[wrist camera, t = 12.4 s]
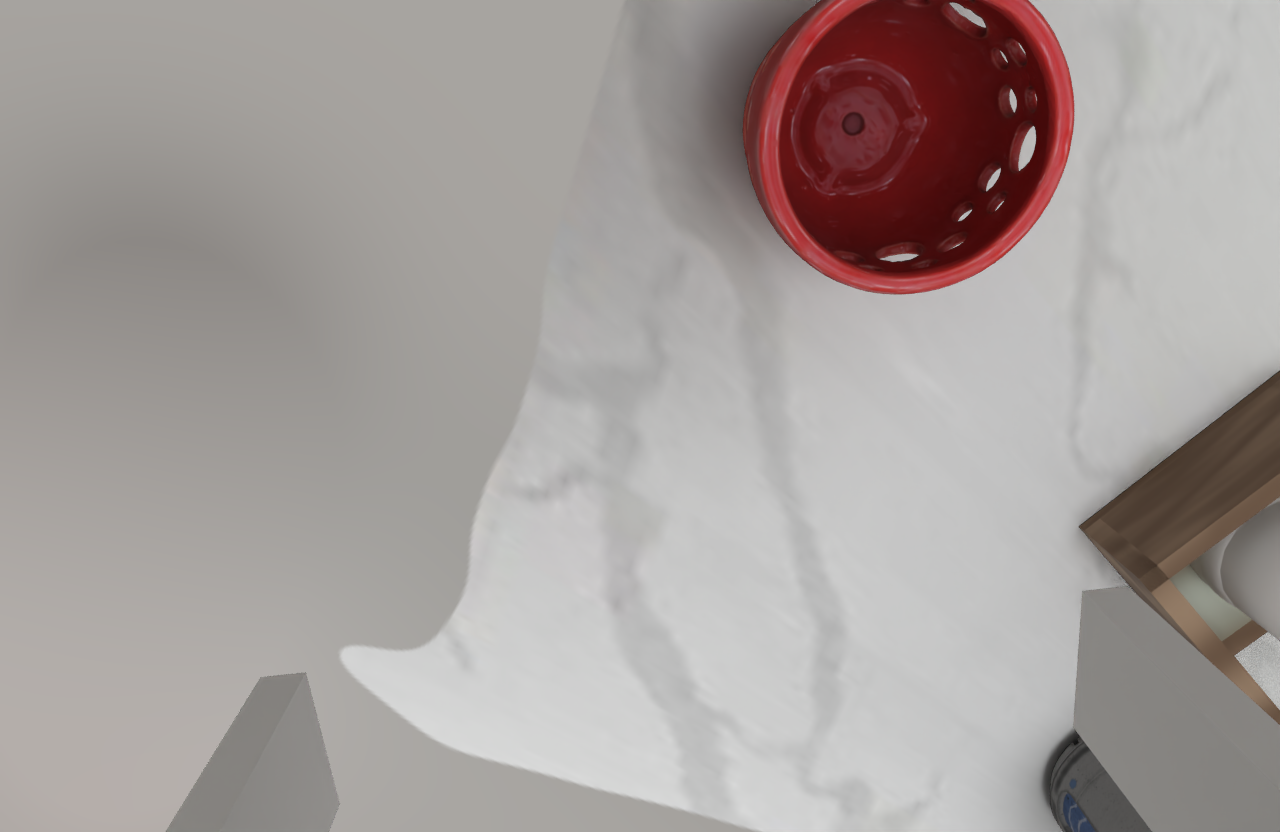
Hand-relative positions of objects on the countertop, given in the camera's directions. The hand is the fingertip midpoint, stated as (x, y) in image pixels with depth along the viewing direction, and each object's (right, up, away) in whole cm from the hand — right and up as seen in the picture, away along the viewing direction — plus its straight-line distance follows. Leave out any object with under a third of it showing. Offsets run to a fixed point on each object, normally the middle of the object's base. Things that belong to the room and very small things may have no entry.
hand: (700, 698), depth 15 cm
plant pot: (+10, +20, +33) cm, 39 cm away
